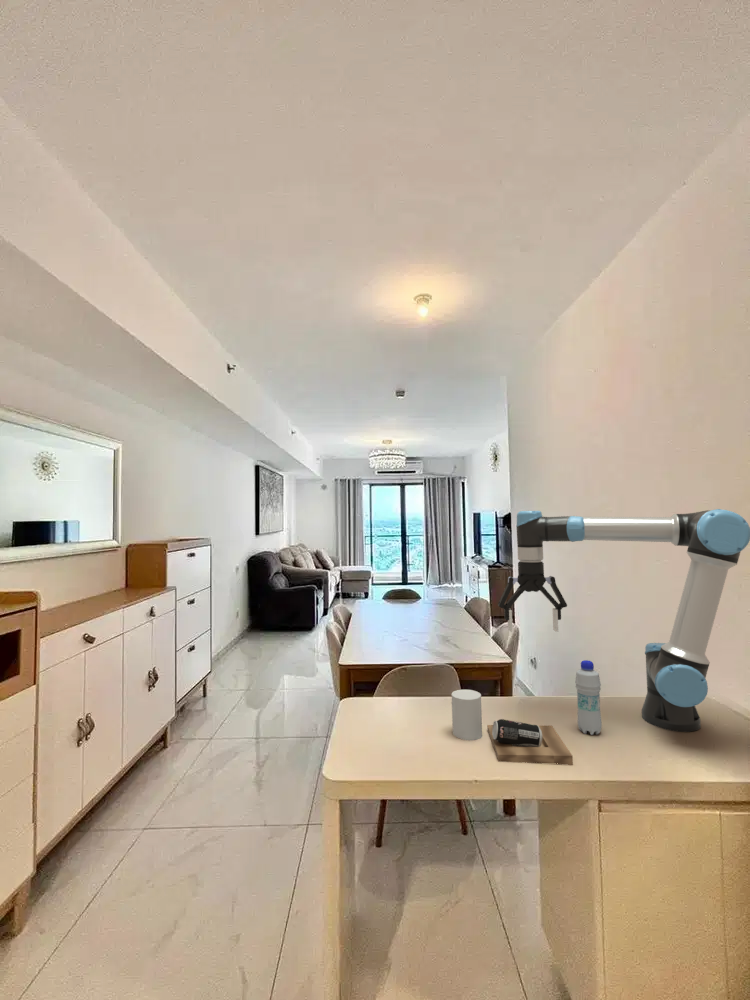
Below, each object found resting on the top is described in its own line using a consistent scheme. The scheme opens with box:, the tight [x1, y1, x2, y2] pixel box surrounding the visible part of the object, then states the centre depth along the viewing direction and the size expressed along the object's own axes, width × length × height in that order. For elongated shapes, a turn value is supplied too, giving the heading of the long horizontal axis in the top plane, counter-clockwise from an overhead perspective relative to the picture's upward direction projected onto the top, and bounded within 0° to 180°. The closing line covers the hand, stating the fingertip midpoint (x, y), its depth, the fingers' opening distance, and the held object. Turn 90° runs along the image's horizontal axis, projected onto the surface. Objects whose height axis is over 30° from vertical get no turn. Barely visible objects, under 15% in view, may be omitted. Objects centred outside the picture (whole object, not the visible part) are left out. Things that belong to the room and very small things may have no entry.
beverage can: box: [492, 718, 542, 747], centre depth 129 cm, size 6×6×12 cm
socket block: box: [486, 724, 574, 766], centre depth 130 cm, size 18×18×2 cm
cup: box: [451, 689, 483, 741], centre depth 138 cm, size 8×8×12 cm
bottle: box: [575, 659, 603, 736], centre depth 140 cm, size 7×7×20 cm
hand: (533, 630), depth 150 cm, fingers open, 13 cm apart
